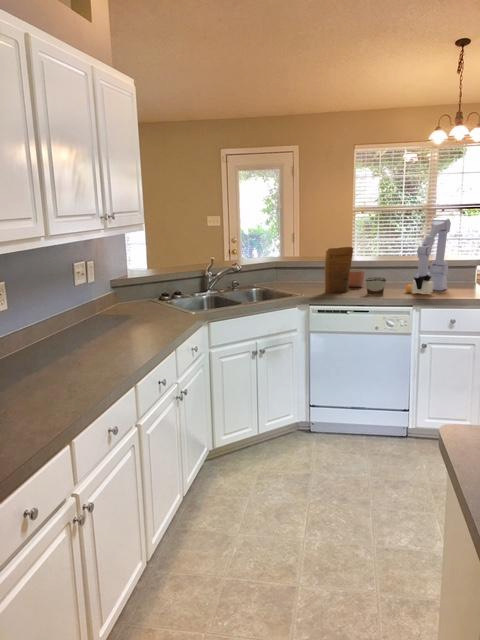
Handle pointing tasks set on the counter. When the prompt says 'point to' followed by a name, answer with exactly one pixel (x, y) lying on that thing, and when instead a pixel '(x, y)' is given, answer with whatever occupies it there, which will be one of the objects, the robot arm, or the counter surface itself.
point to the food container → (375, 285)
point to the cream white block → (423, 287)
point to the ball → (408, 288)
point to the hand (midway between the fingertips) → (421, 288)
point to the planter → (356, 278)
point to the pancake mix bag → (337, 269)
